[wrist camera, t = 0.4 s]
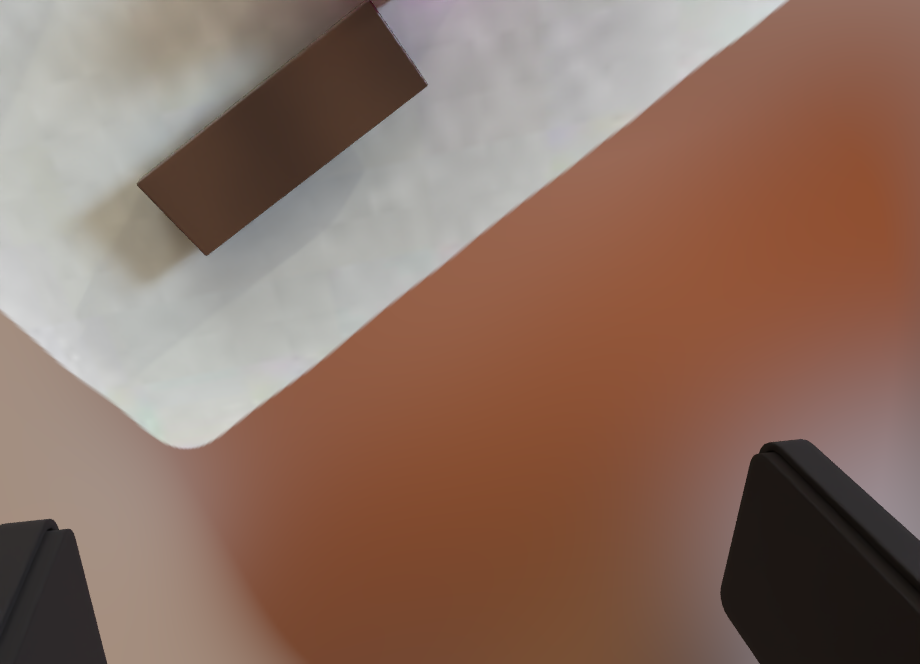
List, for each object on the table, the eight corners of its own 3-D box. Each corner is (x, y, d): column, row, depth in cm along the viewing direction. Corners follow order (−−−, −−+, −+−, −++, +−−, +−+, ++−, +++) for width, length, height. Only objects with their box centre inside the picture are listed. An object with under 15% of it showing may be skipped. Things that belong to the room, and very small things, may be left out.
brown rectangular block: (365, -3, 39) (369, -1, 37) (420, 78, 41) (428, 85, 39) (144, 172, 40) (135, 184, 38) (210, 241, 43) (205, 256, 40)
